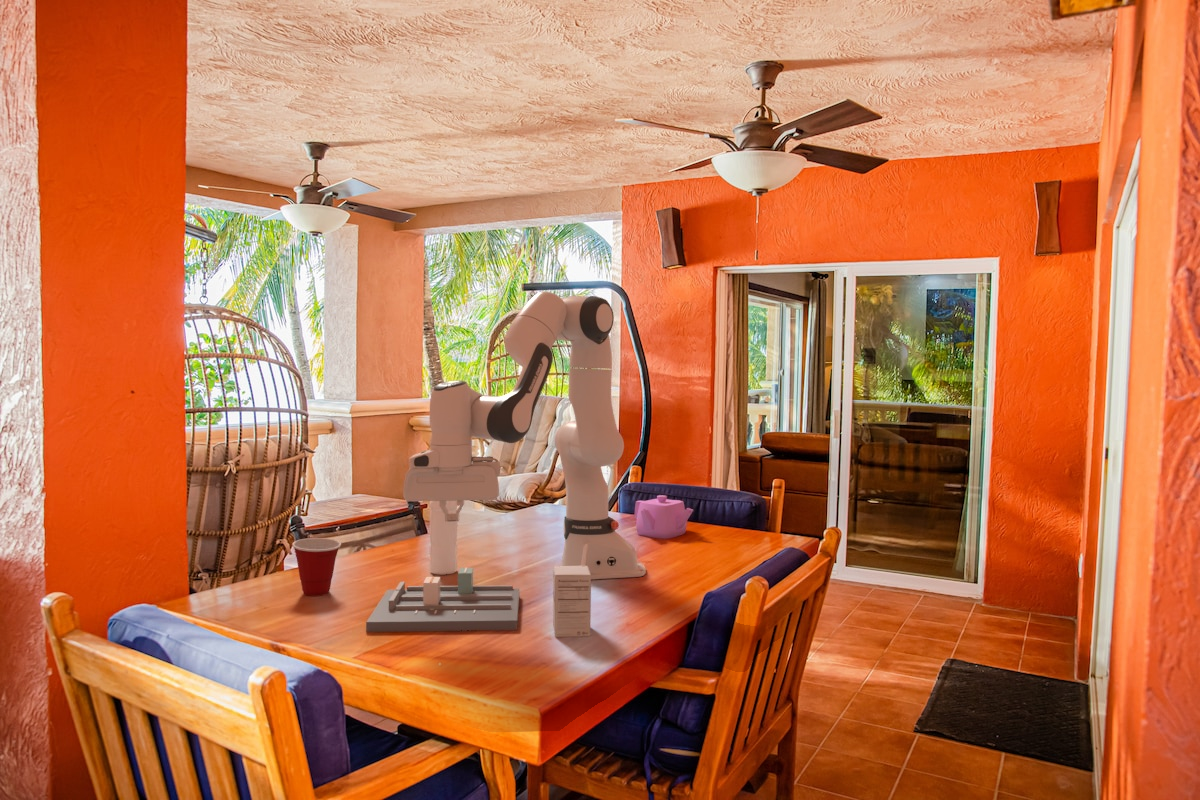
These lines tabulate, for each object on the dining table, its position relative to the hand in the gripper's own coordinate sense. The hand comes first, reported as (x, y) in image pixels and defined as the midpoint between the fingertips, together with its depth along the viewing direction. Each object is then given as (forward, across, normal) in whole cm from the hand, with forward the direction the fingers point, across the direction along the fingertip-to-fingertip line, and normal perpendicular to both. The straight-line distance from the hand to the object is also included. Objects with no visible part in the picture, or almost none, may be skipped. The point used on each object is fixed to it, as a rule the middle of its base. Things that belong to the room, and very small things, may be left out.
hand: (452, 521), depth 180 cm
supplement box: (+21, -25, +13) cm, 35 cm away
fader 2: (+18, -2, -8) cm, 20 cm away
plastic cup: (+20, +33, -17) cm, 42 cm away
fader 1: (+18, +5, 0) cm, 18 cm away
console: (+20, +1, 0) cm, 20 cm away
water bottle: (+20, +6, -36) cm, 42 cm away
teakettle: (+22, -58, -83) cm, 103 cm away
